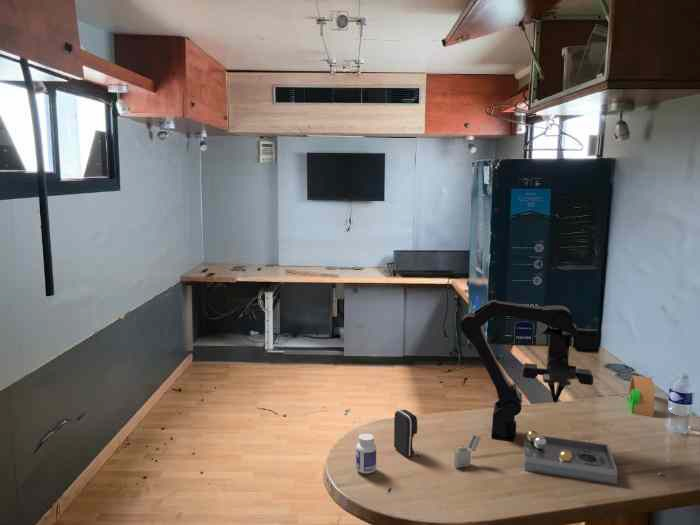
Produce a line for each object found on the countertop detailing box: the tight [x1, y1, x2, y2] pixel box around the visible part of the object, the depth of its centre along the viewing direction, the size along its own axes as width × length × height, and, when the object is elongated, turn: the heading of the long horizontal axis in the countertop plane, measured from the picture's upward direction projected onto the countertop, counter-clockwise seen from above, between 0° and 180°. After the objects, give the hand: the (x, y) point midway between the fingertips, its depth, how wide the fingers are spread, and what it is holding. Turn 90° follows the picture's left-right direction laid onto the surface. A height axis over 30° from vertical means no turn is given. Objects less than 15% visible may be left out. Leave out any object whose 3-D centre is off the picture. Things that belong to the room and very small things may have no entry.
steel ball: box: [534, 435, 547, 449], centre depth 147 cm, size 3×3×3 cm
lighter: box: [453, 433, 482, 469], centre depth 142 cm, size 7×2×8 cm, turn 111°
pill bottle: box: [355, 433, 377, 474], centre depth 139 cm, size 5×5×9 cm
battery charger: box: [393, 409, 418, 457], centre depth 149 cm, size 7×4×11 cm, turn 30°
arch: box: [628, 374, 655, 418], centre depth 183 cm, size 6×20×10 cm, turn 156°
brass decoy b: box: [559, 450, 573, 463], centre depth 139 cm, size 3×3×3 cm
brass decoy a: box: [526, 429, 539, 442], centre depth 151 cm, size 3×3×3 cm
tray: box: [523, 432, 619, 486], centre depth 143 cm, size 22×15×4 cm
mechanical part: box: [626, 389, 640, 415], centre depth 180 cm, size 12×6×8 cm, turn 159°
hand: (554, 402), depth 154 cm, fingers closed
